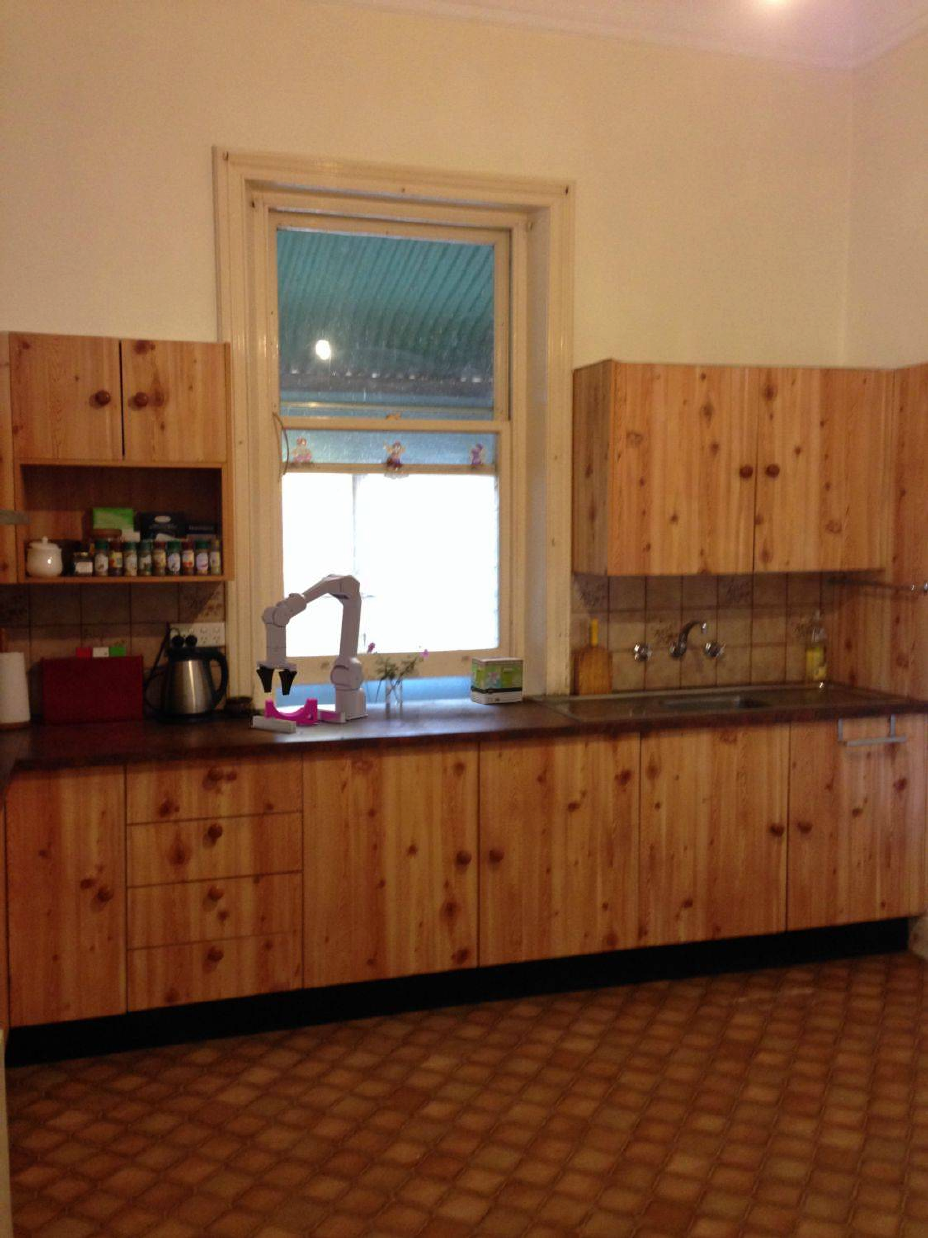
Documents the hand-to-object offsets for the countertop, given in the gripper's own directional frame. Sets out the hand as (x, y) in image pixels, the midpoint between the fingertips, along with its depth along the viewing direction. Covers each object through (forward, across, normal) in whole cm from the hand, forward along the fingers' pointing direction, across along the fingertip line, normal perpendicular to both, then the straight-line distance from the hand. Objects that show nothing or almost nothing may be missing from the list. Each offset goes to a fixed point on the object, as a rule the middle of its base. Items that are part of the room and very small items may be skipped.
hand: (276, 693), depth 315 cm
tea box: (+10, +21, +80) cm, 84 cm away
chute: (+10, +2, +8) cm, 13 cm away
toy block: (+10, -2, +7) cm, 13 cm away
